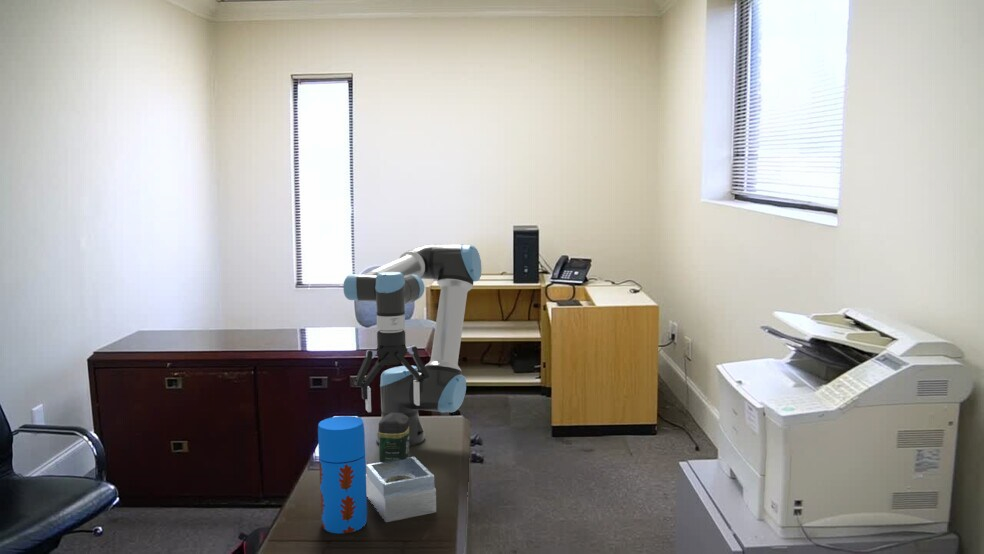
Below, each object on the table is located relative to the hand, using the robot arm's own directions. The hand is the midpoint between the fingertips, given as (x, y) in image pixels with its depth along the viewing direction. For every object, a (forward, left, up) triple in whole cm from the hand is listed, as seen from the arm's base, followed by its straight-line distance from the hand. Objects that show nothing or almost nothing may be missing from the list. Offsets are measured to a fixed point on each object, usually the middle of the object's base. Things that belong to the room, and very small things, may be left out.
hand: (392, 407), depth 206 cm
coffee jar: (0, 0, -21) cm, 21 cm away
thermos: (+19, +19, -21) cm, 34 cm away
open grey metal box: (+3, +15, -21) cm, 26 cm away
